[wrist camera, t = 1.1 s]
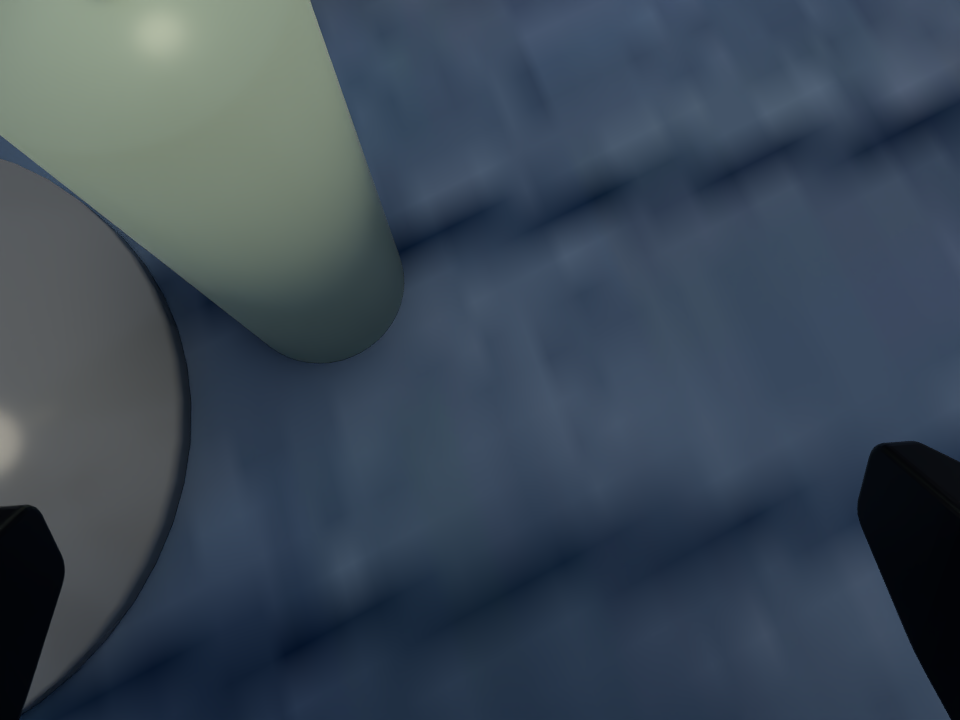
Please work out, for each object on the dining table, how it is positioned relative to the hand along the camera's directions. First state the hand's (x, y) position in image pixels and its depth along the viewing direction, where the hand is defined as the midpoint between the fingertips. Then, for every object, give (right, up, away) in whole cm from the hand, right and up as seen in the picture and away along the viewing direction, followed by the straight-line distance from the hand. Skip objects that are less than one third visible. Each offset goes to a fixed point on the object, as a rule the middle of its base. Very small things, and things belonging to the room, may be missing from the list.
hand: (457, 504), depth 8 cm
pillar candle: (-5, +4, +15) cm, 16 cm away
